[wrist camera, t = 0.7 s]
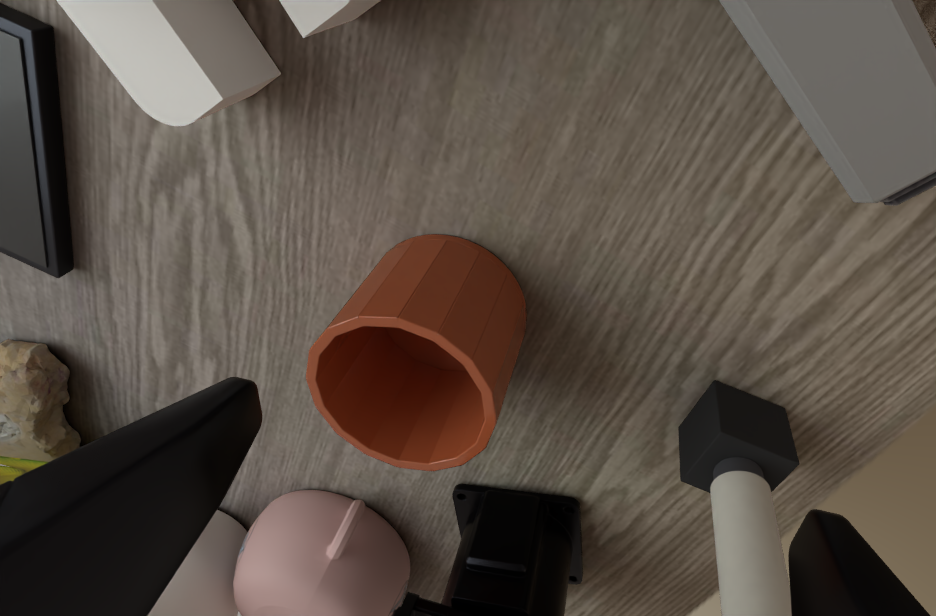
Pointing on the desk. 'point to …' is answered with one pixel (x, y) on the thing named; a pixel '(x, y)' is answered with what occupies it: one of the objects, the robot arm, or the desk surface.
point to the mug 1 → (206, 573)
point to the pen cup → (421, 354)
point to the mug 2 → (320, 559)
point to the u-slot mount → (192, 49)
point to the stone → (33, 403)
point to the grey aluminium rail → (853, 86)
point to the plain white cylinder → (747, 542)
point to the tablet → (32, 148)
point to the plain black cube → (735, 436)
